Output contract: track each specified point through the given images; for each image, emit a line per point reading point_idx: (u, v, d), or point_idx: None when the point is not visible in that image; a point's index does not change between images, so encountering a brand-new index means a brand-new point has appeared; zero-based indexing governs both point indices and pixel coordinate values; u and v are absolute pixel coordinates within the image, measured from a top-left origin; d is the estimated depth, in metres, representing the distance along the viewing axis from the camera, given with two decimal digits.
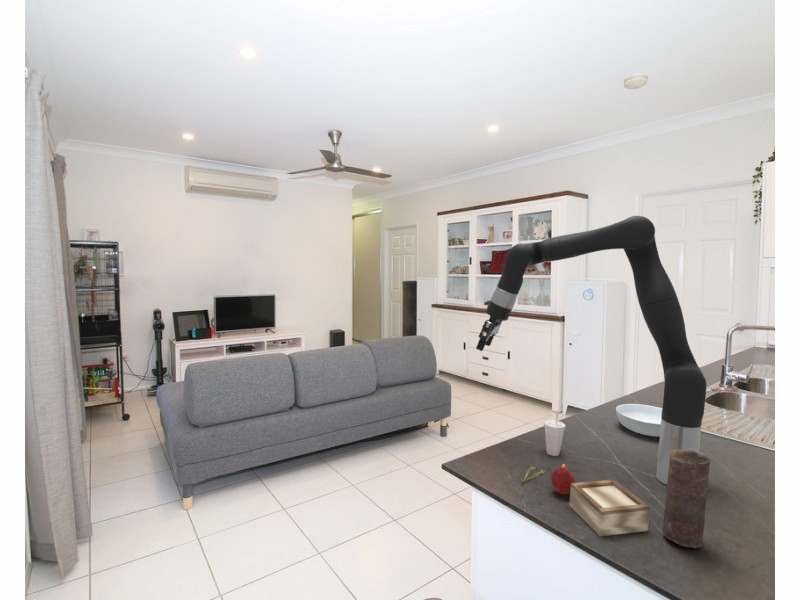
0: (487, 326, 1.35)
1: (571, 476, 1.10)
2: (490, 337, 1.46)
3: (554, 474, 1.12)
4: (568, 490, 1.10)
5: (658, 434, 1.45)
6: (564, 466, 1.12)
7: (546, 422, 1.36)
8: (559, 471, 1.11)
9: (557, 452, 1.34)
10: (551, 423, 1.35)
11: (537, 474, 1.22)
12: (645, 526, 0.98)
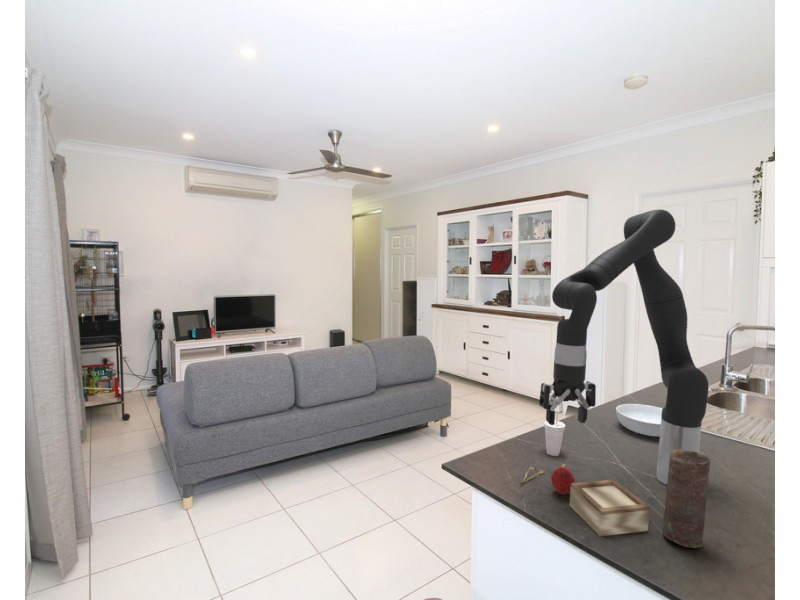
0: None
1: (571, 476, 1.10)
2: None
3: (554, 474, 1.12)
4: (568, 490, 1.10)
5: (658, 434, 1.45)
6: (564, 466, 1.12)
7: (546, 422, 1.36)
8: (559, 471, 1.11)
9: (557, 452, 1.34)
10: None
11: (536, 475, 1.21)
12: (645, 526, 0.98)
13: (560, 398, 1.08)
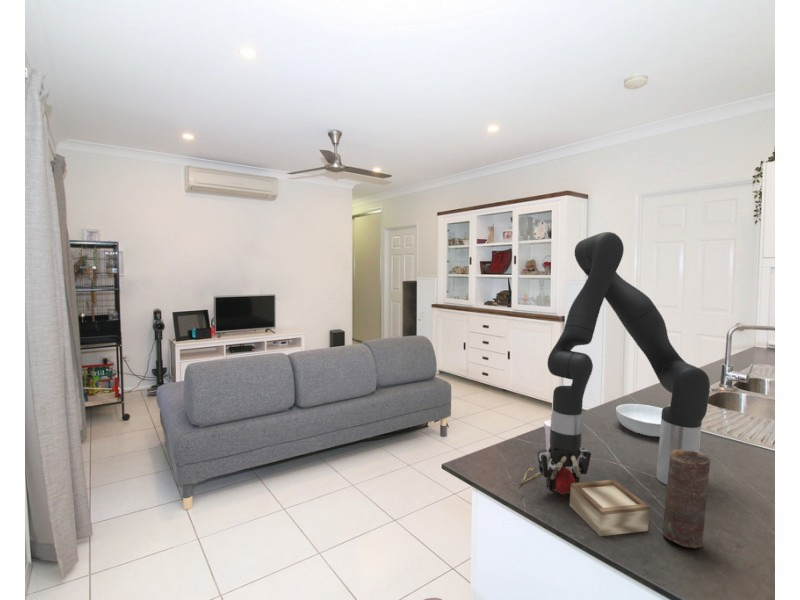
0: None
1: (571, 476, 1.10)
2: None
3: None
4: (568, 490, 1.10)
5: (658, 434, 1.45)
6: None
7: (546, 422, 1.36)
8: (559, 471, 1.11)
9: None
10: None
11: (535, 475, 1.21)
12: (645, 526, 0.98)
13: (558, 466, 1.09)
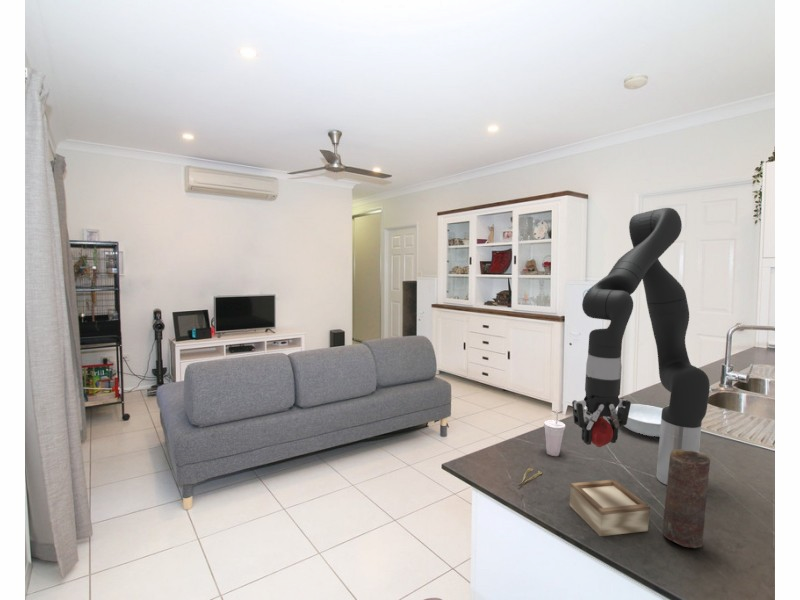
0: None
1: (609, 426, 1.02)
2: None
3: None
4: (606, 441, 1.01)
5: (658, 434, 1.45)
6: None
7: (546, 422, 1.36)
8: (596, 421, 1.02)
9: (557, 452, 1.34)
10: (551, 423, 1.35)
11: (535, 475, 1.21)
12: (645, 526, 0.98)
13: (595, 415, 1.01)
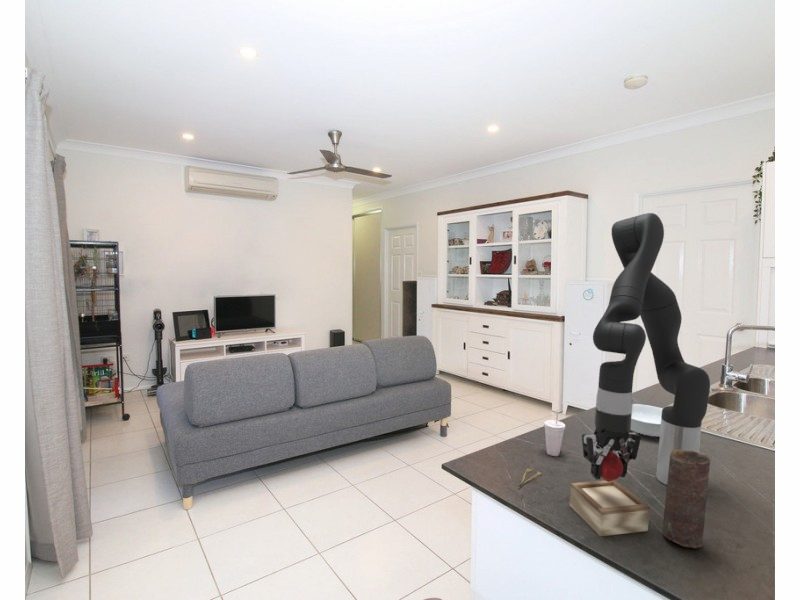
0: None
1: (619, 461, 1.00)
2: None
3: None
4: (616, 476, 0.99)
5: (658, 434, 1.45)
6: None
7: (546, 422, 1.36)
8: None
9: (557, 452, 1.34)
10: (551, 423, 1.35)
11: (534, 476, 1.20)
12: (645, 526, 0.98)
13: (605, 450, 0.99)
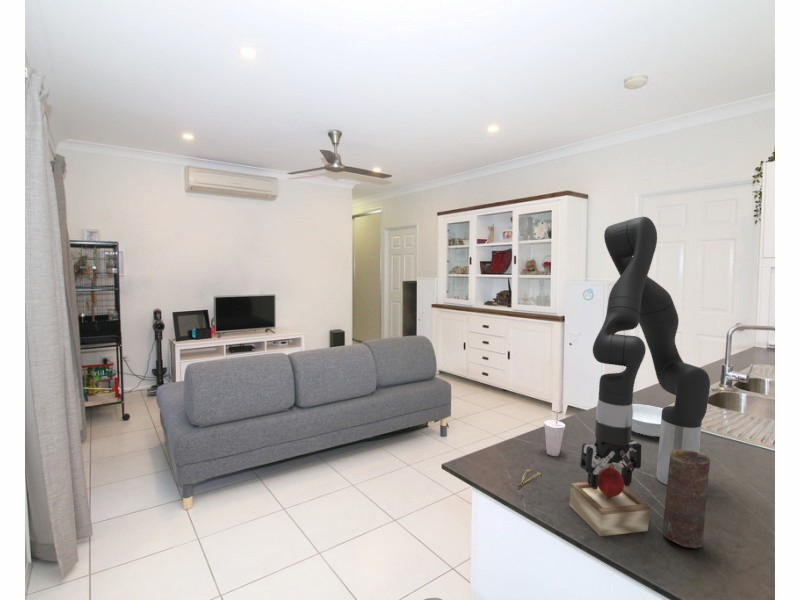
0: None
1: (620, 477, 1.00)
2: None
3: (601, 475, 1.01)
4: (617, 493, 0.99)
5: (658, 434, 1.45)
6: (612, 466, 1.01)
7: (546, 422, 1.36)
8: (607, 471, 1.01)
9: (557, 452, 1.34)
10: (551, 423, 1.35)
11: (534, 476, 1.20)
12: (645, 526, 0.98)
13: (604, 461, 0.99)
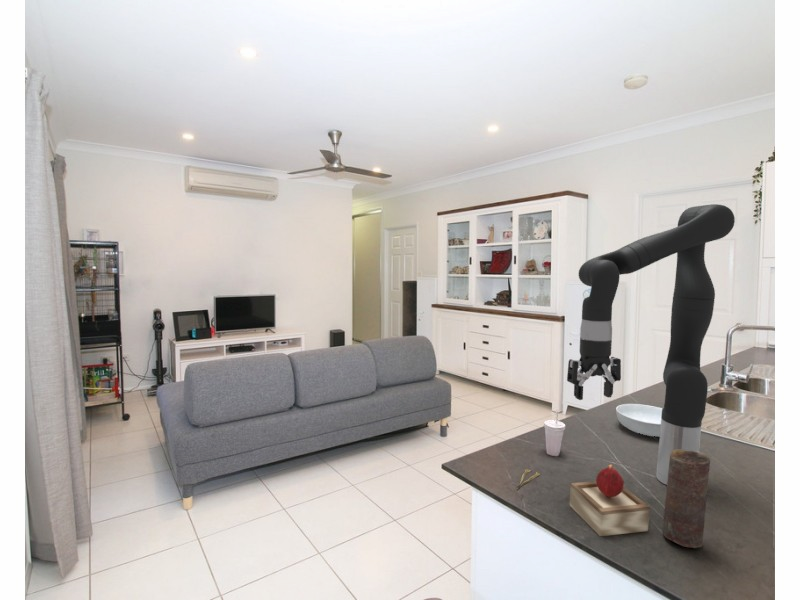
0: None
1: (620, 478, 1.00)
2: None
3: (600, 475, 1.01)
4: (617, 493, 0.99)
5: (658, 434, 1.45)
6: (611, 467, 1.01)
7: (546, 422, 1.36)
8: (606, 472, 1.01)
9: (557, 452, 1.34)
10: (551, 423, 1.35)
11: (533, 477, 1.20)
12: (645, 526, 0.98)
13: (588, 373, 1.11)
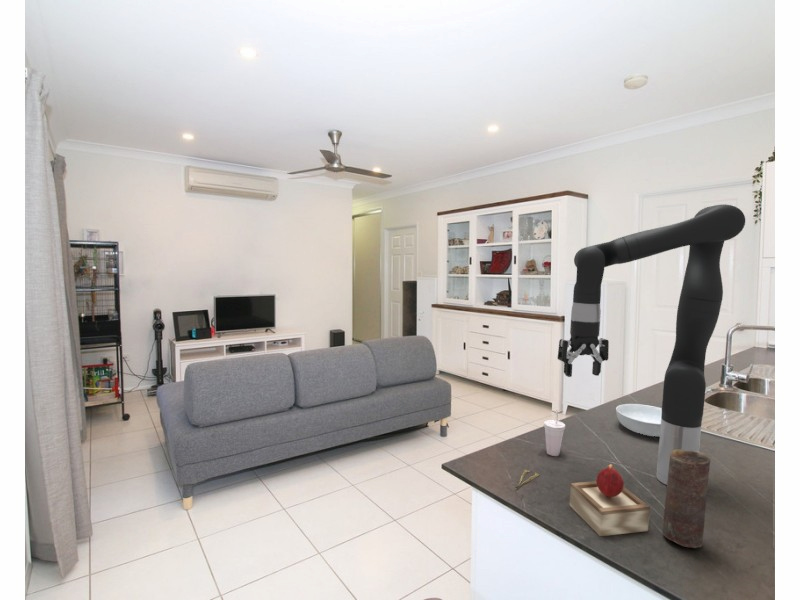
0: None
1: (620, 477, 1.00)
2: None
3: (600, 475, 1.01)
4: (617, 493, 0.99)
5: (658, 434, 1.45)
6: (611, 466, 1.01)
7: (546, 422, 1.36)
8: (606, 472, 1.01)
9: (557, 452, 1.34)
10: (551, 423, 1.35)
11: (532, 477, 1.20)
12: (645, 526, 0.98)
13: (577, 352, 1.19)
